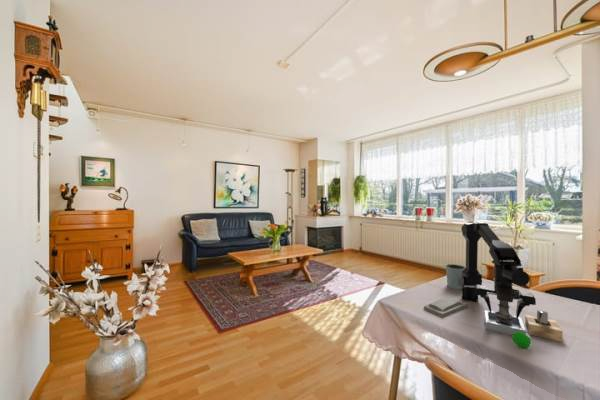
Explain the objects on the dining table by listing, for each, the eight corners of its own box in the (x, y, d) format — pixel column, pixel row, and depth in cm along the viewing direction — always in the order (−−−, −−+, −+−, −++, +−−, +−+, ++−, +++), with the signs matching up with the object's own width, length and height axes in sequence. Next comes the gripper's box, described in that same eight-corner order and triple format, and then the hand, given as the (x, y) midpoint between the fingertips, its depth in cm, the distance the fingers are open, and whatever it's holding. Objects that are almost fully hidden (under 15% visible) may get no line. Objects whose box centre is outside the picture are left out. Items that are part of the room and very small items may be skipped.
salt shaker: (517, 326, 98) (517, 297, 98) (504, 328, 97) (503, 298, 97) (503, 319, 104) (503, 291, 104) (491, 320, 103) (491, 292, 103)
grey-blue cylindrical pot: (450, 289, 141) (449, 268, 141) (442, 283, 151) (442, 263, 151) (469, 290, 139) (469, 269, 139) (460, 283, 149) (460, 264, 149)
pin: (537, 332, 96) (537, 312, 96) (536, 329, 98) (536, 309, 98) (548, 335, 94) (548, 314, 94) (546, 331, 96) (546, 311, 96)
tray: (485, 329, 99) (485, 321, 99) (484, 316, 109) (484, 310, 109) (525, 338, 92) (525, 330, 92) (521, 324, 102) (521, 317, 102)
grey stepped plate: (468, 308, 118) (468, 301, 118) (443, 319, 109) (443, 311, 109) (447, 300, 128) (447, 294, 127) (422, 309, 118) (422, 302, 118)
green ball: (521, 342, 90) (521, 329, 90) (535, 350, 85) (534, 336, 85) (508, 342, 90) (508, 329, 90) (521, 351, 85) (521, 337, 85)
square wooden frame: (529, 334, 95) (529, 323, 95) (525, 324, 102) (525, 314, 102) (562, 341, 90) (562, 331, 90) (555, 330, 97) (555, 320, 97)
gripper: (475, 278, 99) (475, 316, 100) (538, 288, 88) (538, 330, 89) (475, 271, 108) (475, 306, 109) (532, 278, 97) (533, 317, 98)
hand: (503, 314), depth 101 cm, fingers closed on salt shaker, 8 cm apart
